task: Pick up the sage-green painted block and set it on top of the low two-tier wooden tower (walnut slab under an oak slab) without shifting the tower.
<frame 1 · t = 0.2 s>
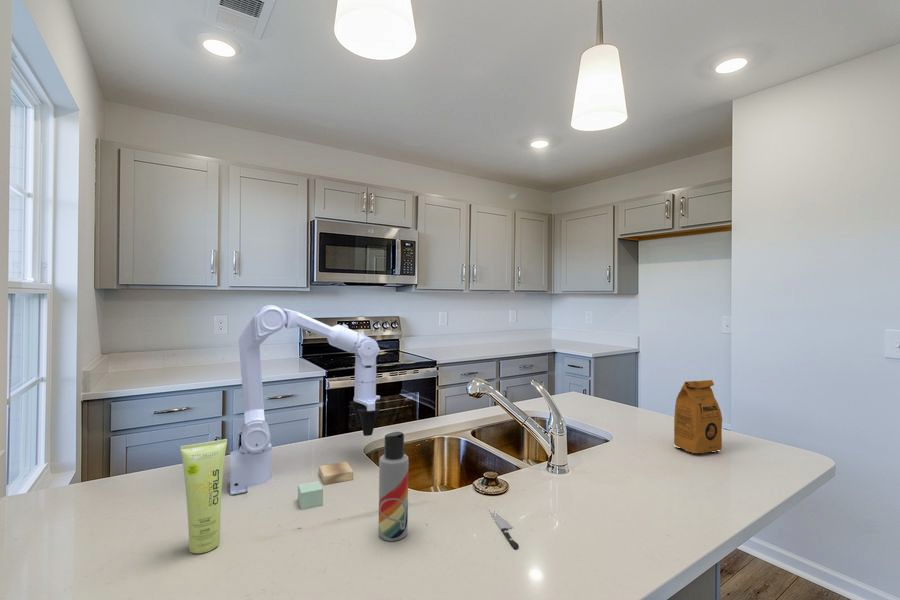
hand: (364, 430, 117), 10 cm above the countertop, fingers open, 7 cm apart
sage block: (310, 509, 94), on the countertop
tower base: (335, 484, 108), on the countertop, touching tower top
tube: (203, 547, 80), on the countertop
tower top: (335, 476, 108), point 1 cm above the countertop, touching tower base
chef's knife: (503, 525, 90), on the countertop
coffee package: (697, 451, 134), on the countertop
lotion bottle: (392, 534, 85), on the countertop
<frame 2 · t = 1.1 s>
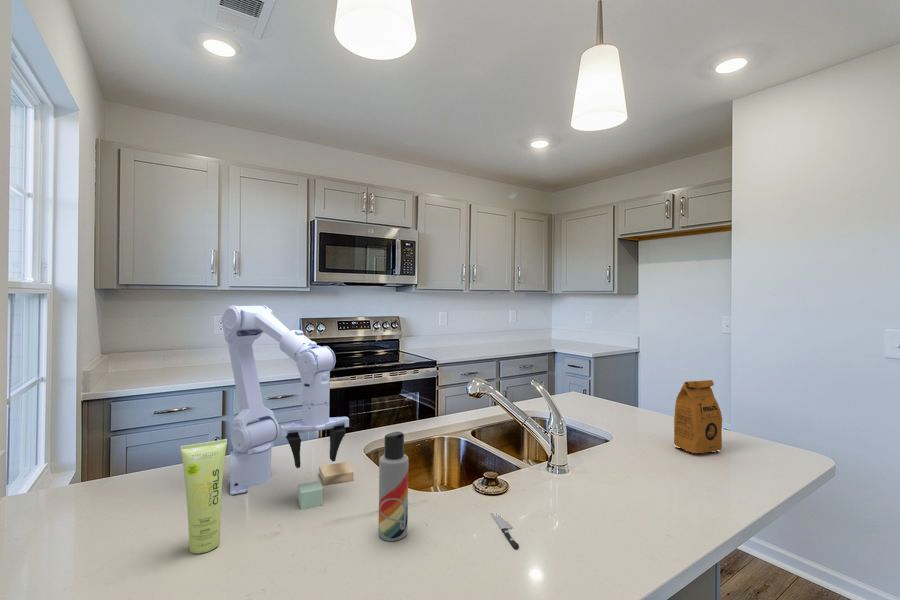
hand: (315, 463, 96), 9 cm above the countertop, fingers open, 7 cm apart
tower base: (335, 484, 108), on the countertop
tower top: (335, 477, 107), point 1 cm above the countertop
everything else where it was.
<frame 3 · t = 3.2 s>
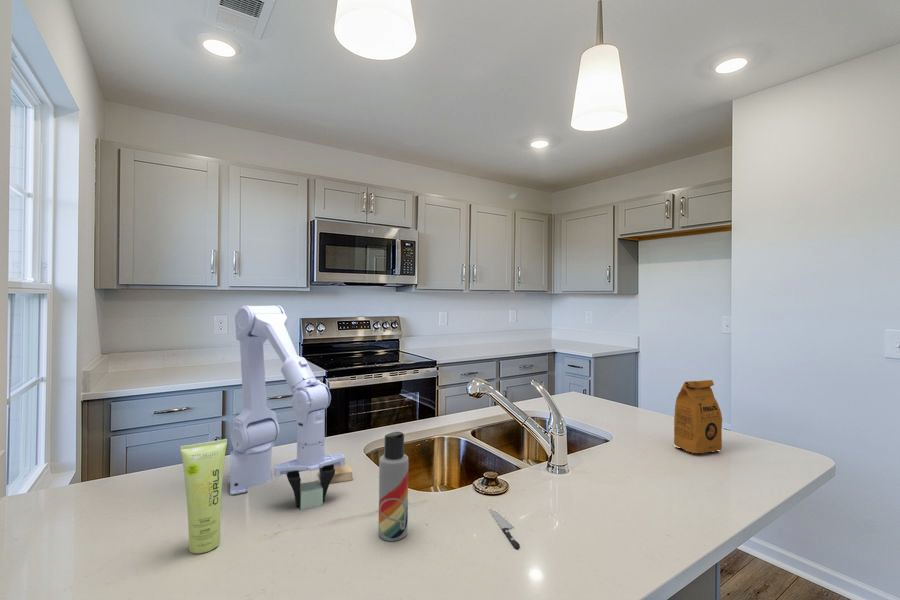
hand: (310, 502, 94), 1 cm above the countertop, fingers closed on sage block, 4 cm apart
sage block: (310, 509, 94), on the countertop, touching gripper
tower base: (335, 484, 108), on the countertop, touching tower top
tower top: (335, 476, 107), point 1 cm above the countertop, touching tower base
everything else where it was.
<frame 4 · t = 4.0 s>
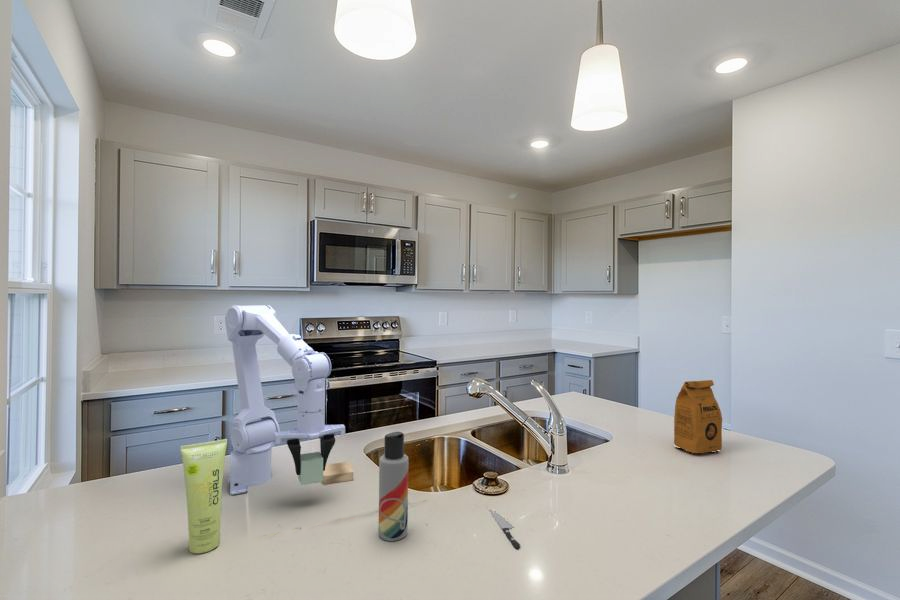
hand: (310, 471, 94), 8 cm above the countertop, fingers closed on sage block, 4 cm apart
sage block: (310, 479, 94), point 7 cm above the countertop, touching gripper
everything else where it was.
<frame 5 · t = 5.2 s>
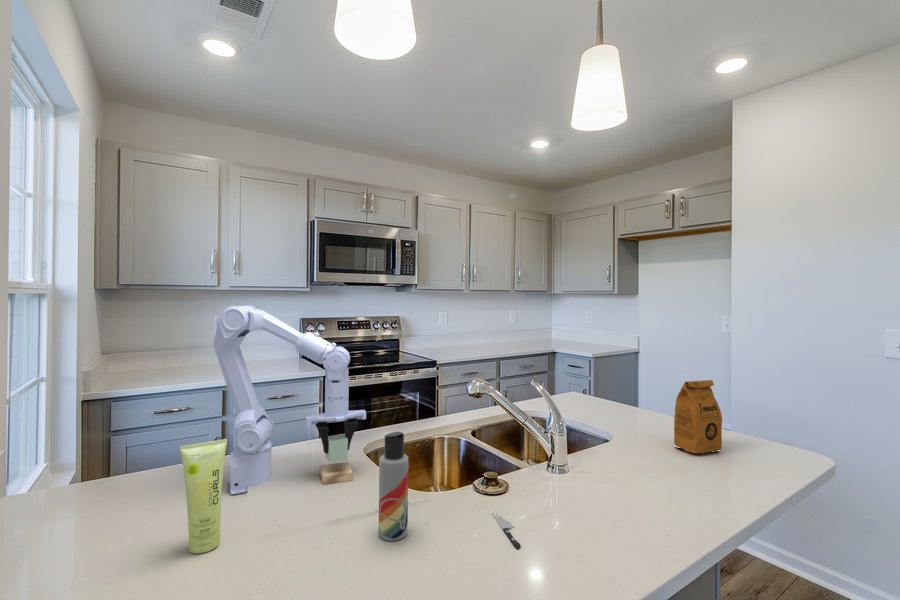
hand: (336, 450, 107), 8 cm above the countertop, fingers closed on sage block, 4 cm apart
sage block: (336, 458, 107), point 6 cm above the countertop, touching gripper
everything else where it was.
when the fingers open (7 cm above the countertop, at t = 6.3 s): sage block drops 1 cm, resting on tower top.
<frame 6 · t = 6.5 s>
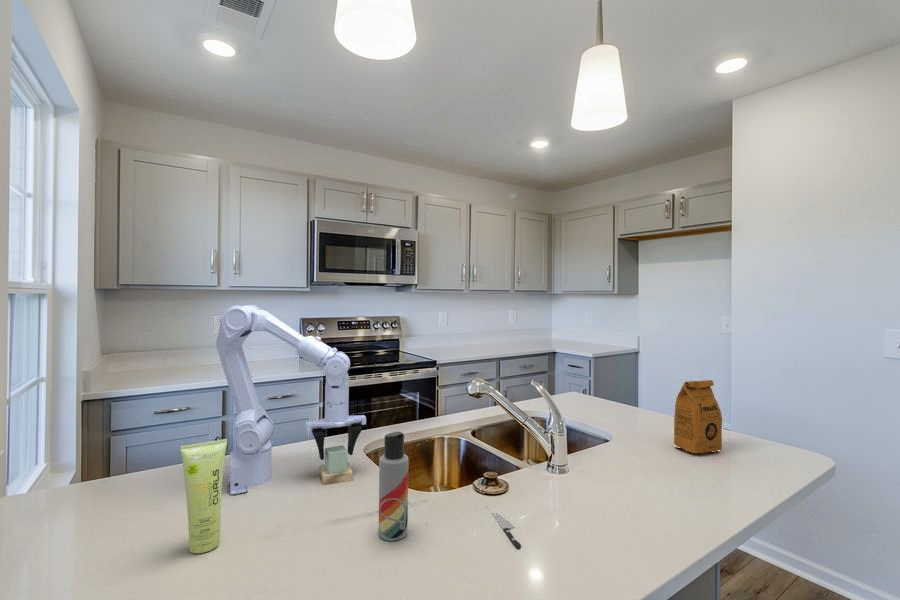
hand: (336, 456, 107), 7 cm above the countertop, fingers open, 6 cm apart
sage block: (335, 469, 107), point 3 cm above the countertop, touching tower top
tower top: (336, 476, 108), point 1 cm above the countertop, touching sage block, tower base
everything else where it was.
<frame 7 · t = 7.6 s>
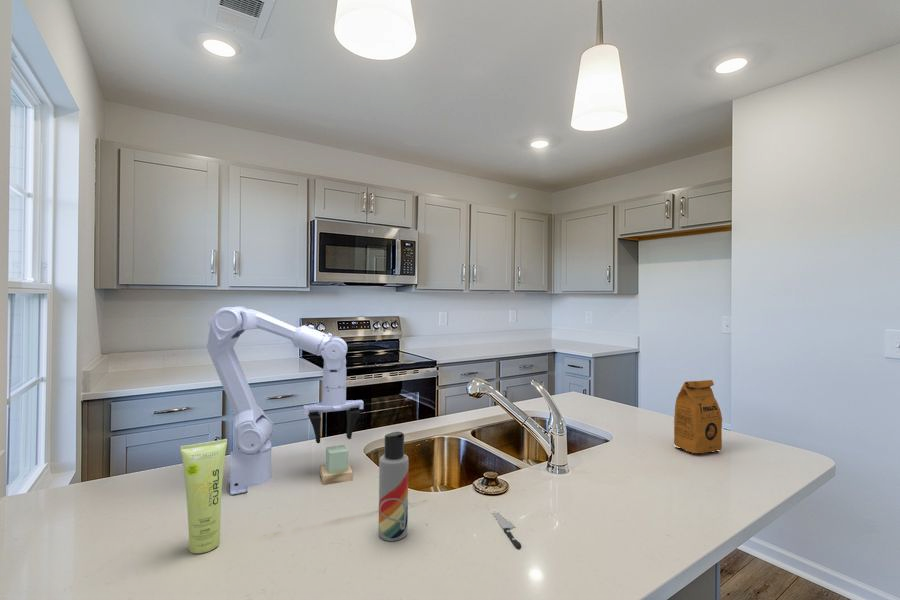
hand: (333, 439, 108), 10 cm above the countertop, fingers open, 7 cm apart
tower base: (335, 485, 108), on the countertop
tower top: (335, 476, 108), point 1 cm above the countertop, touching sage block
everything else where it was.
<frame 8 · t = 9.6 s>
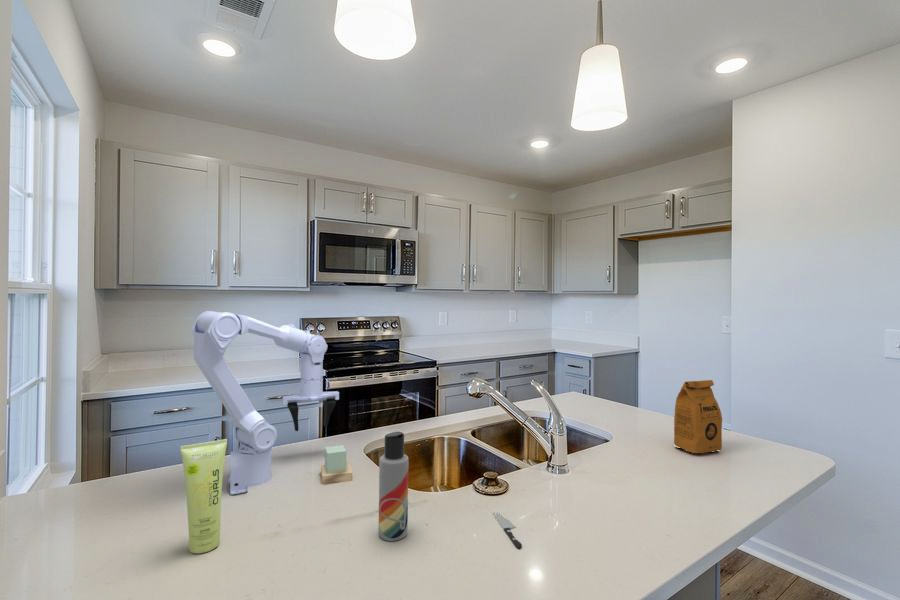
hand: (311, 428, 117), 10 cm above the countertop, fingers open, 7 cm apart
tower base: (335, 484, 108), on the countertop, touching tower top
tower top: (336, 476, 108), point 1 cm above the countertop, touching sage block, tower base
everything else where it was.
at the end: sage block 0.3 cm off-centre on the tower top, point 2.0 cm above the tower top's base; sage block tilted 0°; tower top moved 0.7 cm from its start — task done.
